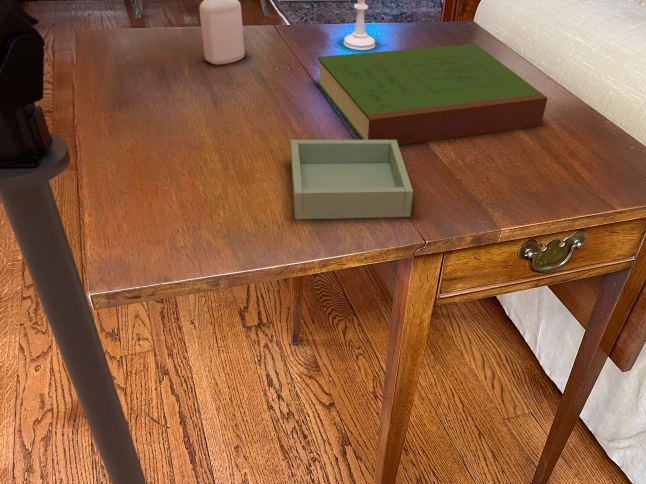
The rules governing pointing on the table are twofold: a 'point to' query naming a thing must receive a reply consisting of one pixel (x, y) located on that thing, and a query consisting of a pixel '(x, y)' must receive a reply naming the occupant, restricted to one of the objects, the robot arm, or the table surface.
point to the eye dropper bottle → (222, 31)
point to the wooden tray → (349, 179)
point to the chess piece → (359, 31)
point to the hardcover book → (428, 93)
